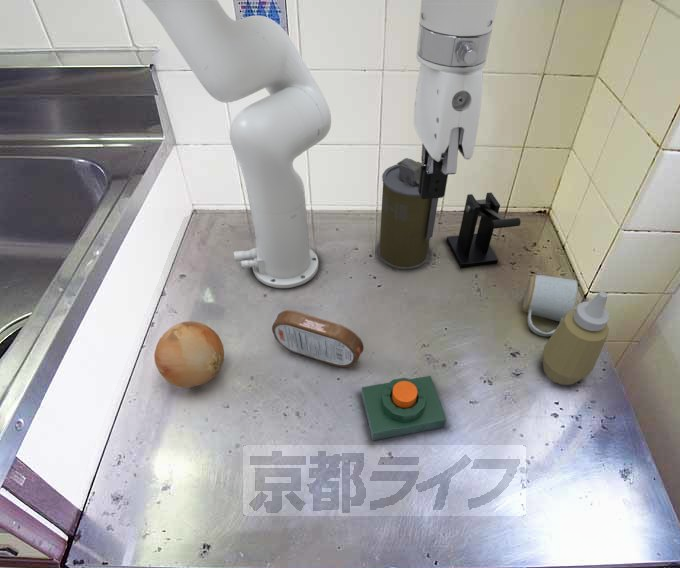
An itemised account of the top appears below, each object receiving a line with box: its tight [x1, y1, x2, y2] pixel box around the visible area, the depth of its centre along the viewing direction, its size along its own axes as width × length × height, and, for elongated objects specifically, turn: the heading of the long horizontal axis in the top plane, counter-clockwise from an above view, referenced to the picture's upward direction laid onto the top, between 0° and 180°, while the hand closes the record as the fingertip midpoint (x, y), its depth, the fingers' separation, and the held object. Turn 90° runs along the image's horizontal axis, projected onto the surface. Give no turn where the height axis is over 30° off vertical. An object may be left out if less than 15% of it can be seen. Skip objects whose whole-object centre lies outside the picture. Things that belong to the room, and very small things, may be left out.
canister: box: [377, 157, 439, 270], centre depth 90 cm, size 11×10×20 cm
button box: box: [361, 375, 447, 441], centre depth 70 cm, size 11×8×4 cm
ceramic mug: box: [522, 274, 579, 337], centre depth 84 cm, size 11×8×8 cm
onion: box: [153, 320, 225, 388], centre depth 71 cm, size 10×10×10 cm
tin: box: [271, 309, 364, 368], centre depth 75 cm, size 15×3×8 cm, turn 71°
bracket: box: [445, 192, 501, 269], centre depth 94 cm, size 9×8×13 cm
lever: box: [476, 198, 522, 230], centre depth 86 cm, size 12×5×2 cm, turn 14°
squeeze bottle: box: [542, 291, 610, 386], centre depth 72 cm, size 8×8×18 cm
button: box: [392, 381, 417, 408], centre depth 69 cm, size 4×4×2 cm
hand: (430, 194), depth 63 cm, fingers closed
